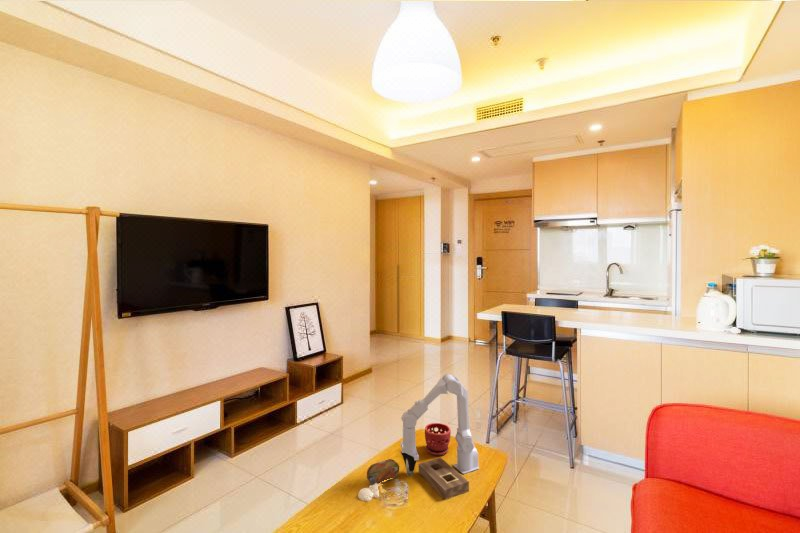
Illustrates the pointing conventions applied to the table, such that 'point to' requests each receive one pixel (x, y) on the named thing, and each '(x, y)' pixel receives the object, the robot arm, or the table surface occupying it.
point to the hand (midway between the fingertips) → (409, 468)
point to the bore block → (443, 478)
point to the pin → (408, 469)
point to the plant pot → (437, 438)
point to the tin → (382, 471)
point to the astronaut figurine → (369, 493)
